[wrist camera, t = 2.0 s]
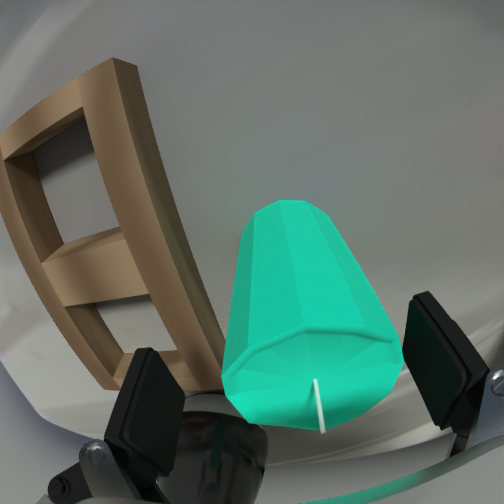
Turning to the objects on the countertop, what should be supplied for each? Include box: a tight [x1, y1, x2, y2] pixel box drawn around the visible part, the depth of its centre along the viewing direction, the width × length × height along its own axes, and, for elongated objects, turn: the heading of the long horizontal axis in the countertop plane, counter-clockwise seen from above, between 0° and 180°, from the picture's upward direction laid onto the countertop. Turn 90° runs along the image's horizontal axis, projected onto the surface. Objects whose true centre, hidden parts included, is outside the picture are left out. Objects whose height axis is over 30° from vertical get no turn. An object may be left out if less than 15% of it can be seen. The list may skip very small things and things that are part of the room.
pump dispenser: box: [157, 394, 268, 504], centre depth 19 cm, size 10×10×15 cm
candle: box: [221, 200, 404, 434], centre depth 12 cm, size 6×6×12 cm
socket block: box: [0, 58, 226, 391], centre depth 17 cm, size 12×22×3 cm, turn 13°
